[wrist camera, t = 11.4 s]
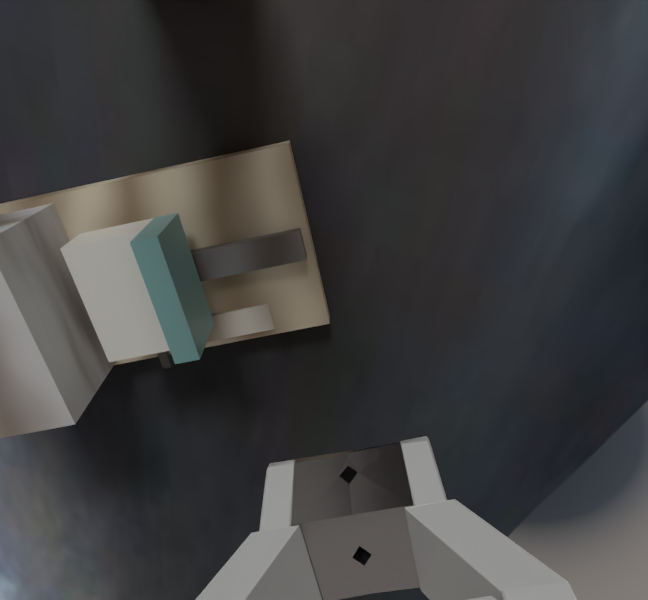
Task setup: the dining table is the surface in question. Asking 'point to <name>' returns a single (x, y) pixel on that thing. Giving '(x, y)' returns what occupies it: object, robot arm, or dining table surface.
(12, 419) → the frame
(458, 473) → the dining table surface
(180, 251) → the block with teal panel
